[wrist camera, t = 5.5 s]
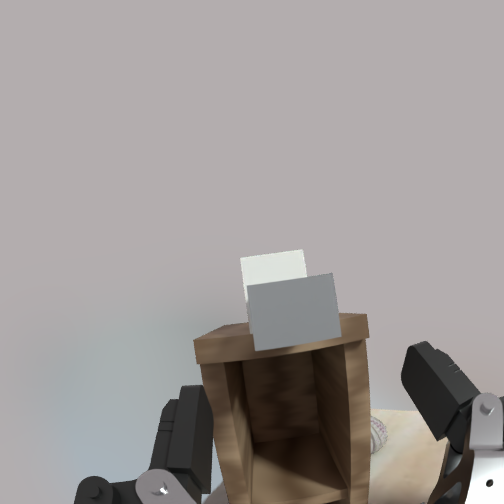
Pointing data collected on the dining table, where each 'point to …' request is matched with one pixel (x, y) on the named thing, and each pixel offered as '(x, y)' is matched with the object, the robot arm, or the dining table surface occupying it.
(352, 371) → the shelf unit
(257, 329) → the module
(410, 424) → the dining table surface
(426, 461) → the dining table surface
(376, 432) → the sea urchin shell
